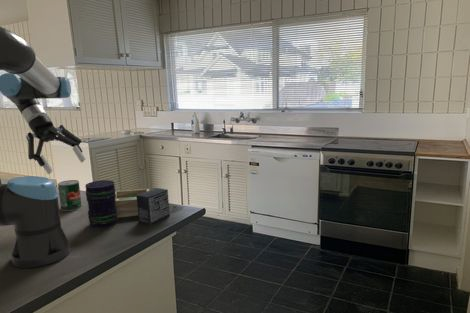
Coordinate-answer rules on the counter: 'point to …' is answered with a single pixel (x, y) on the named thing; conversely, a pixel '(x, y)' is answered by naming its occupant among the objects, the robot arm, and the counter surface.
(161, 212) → the small box
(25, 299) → the counter surface
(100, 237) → the counter surface
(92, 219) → the blue metal drum
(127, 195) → the open wooden box
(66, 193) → the canned tomato
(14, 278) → the counter surface
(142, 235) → the counter surface
